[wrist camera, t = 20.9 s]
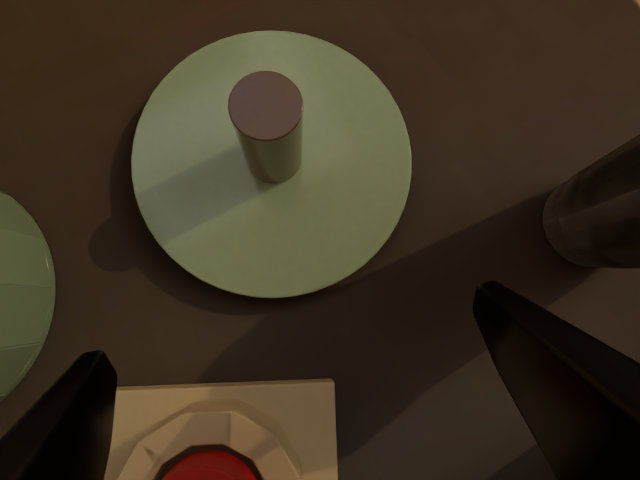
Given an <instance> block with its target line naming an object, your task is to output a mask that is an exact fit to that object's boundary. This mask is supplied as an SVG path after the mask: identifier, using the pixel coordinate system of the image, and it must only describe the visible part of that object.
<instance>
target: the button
mask: <svg viewBox="0 0 640 480" xmlns="http://www.w3.org/2000/svg"><path fill="white" fill-rule="evenodd" d="M162 480H257V479H256V477H255V475H254V474H253V472H252V470H251V469H250V468H249V467H248V466H247V465H246V464H245V463H244V462H243V461H242V460H240V459H239V458H237V457H236V456H234V455H232V454H230V453H227V452H223V451H218V450H206V451H200V452H196V453H193V454H191V455H188V456H186V457H185V458H183V459H181V460H180V461H179V462H177V463H176V464H175V465H174V466H173V467H172V468H171V469H170V470H169V471H168V472H167V474H166V475H165V476H164V477H163V479H162Z"/></svg>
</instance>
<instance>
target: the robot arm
mask: <svg viewBox="0 0 640 480" xmlns="http://www.w3.org/2000/svg"><path fill="white" fill-rule="evenodd" d="M473 314H474V317H475V319H476V322H477V324H478V327H479V329H480V331H481V334H482V336H483V338H484V341H485V343H486V346H487V348H488V350H489V353H490V355H491V358H492V360H493V362H494V364H495V367H496V369H497V371H498V373H499V375H500V377H501V379H502V380H503V382H504V384H505V386H506V388H507V389H508V391H509V393H510V395H511V397H512V398H513V400H514V402H515V404H516V406H517V407H518V409H519V411H520V413H521V415H522V416H523V418H524V420H525V422H526V424H527V425H528V427H529V429H530V431H531V433H532V434H533V436H534V438H535V440H536V442H537V443H538V445H539V447H540V449H541V451H542V452H543V454H544V456H545V458H546V459H547V461H548V463H549V465H550V467H551V468H552V470H553V472H554V474H555V476H556V477H557V479H558V480H640V363H638V362H636V361H634V360H633V359H631V358H629V357H627V356H626V355H624V354H622V353H620V352H619V351H617V350H615V349H613V348H612V347H610V346H608V345H606V344H605V343H603V342H601V341H599V340H598V339H596V338H594V337H592V336H591V335H589V334H587V333H585V332H584V331H582V330H580V329H578V328H577V327H575V326H573V325H571V324H570V323H568V322H566V321H564V320H563V319H561V318H559V317H557V316H556V315H554V314H552V313H550V312H549V311H547V310H545V309H543V308H542V307H540V306H538V305H536V304H535V303H533V302H531V301H529V300H528V299H526V298H524V297H522V296H521V295H519V294H517V293H515V292H514V291H512V290H510V289H508V288H507V287H505V286H503V285H501V284H500V283H498V282H496V281H489V282H483V283H479V284H478V285H477V287H476V292H475V297H474V302H473ZM116 390H117V374H116V371H115V369H114V367H113V366H112V364H111V362H110V361H109V359H108V358H107V356H106V354H105V353H104V352H103V351H101V350H97V351H91V352H85V353H83V354H81V355H80V356H79V357H78V358H77V359H76V360H75V361H74V362H73V363H72V364H71V365H70V366H69V367H68V368H67V370H66V371H65V372H64V373H63V374H62V375H61V376H60V377H59V378H58V379H57V380H56V381H55V382H54V383H53V384H52V385H51V386H50V387H49V389H48V390H47V391H46V392H45V393H44V394H43V395H42V396H41V397H40V398H39V399H38V400H37V401H36V402H35V403H34V404H33V405H32V406H31V407H30V409H29V410H28V411H27V412H26V413H25V414H24V415H23V416H22V417H21V418H20V419H19V420H18V421H17V422H16V423H15V424H14V425H13V426H12V428H11V429H10V430H9V431H8V432H7V433H6V434H5V435H4V436H3V437H2V438H1V439H0V480H104V477H105V472H106V467H107V463H108V458H109V453H110V447H111V440H112V432H113V421H114V411H115V401H116Z"/></svg>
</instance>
